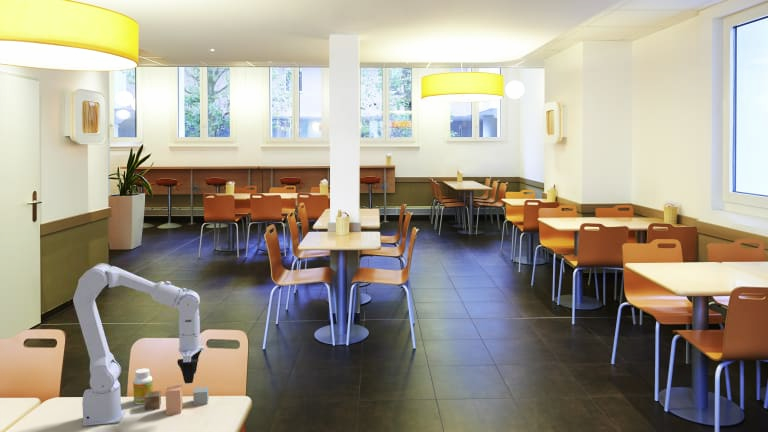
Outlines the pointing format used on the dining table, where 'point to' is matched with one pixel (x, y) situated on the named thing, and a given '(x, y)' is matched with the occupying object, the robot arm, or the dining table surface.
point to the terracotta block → (174, 399)
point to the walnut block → (152, 400)
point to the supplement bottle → (142, 385)
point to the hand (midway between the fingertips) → (190, 378)
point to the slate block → (200, 396)
